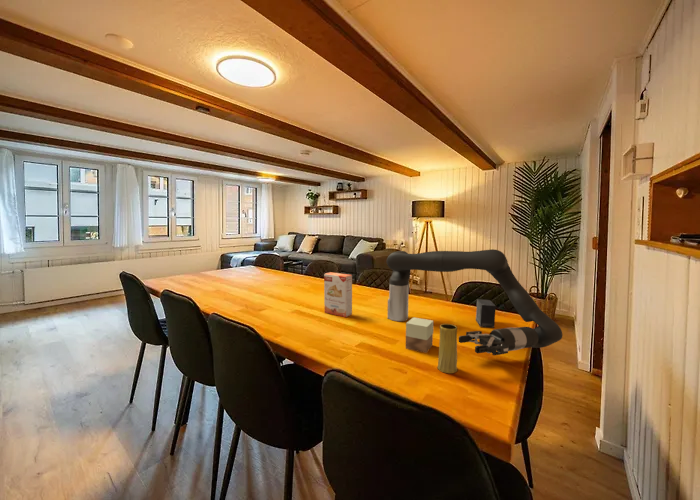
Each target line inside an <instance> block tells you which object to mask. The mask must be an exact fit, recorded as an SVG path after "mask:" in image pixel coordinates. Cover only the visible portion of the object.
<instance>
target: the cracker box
mask: <svg viewBox="0 0 700 500" xmlns="http://www.w3.org/2000/svg"><path fill="white" fill-rule="evenodd" d="M323 279H324V280H323V281H324V282H323V283H324V286H323V287H324V289H323V290H324V292H323V293H324V313H326V314H331V315H335V316H340V317H344V318H347V317H349V316H351V315H353V275H352V274H346V273H340V272H331V271H329V272H326V273H324V275H323Z"/></svg>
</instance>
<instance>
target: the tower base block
mask: <svg viewBox="0 0 700 500" xmlns="http://www.w3.org/2000/svg"><path fill="white" fill-rule="evenodd" d="M433 335H434V333H433V334H432V335H431V336H430V337H429V339H428V340H423V339H418V338H413V337H408V336H406V335H405V349H407V350H412V351H414V352H415V351H416V352H419V353H420V352H421V353H428V352H429V351H430V349H431V347H433V337H434V336H433Z"/></svg>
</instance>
